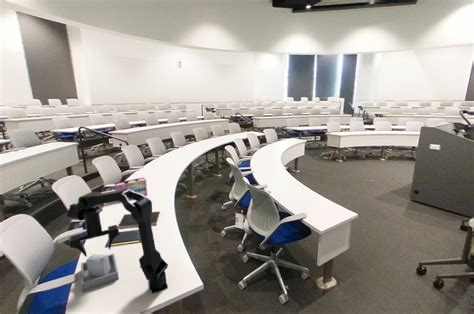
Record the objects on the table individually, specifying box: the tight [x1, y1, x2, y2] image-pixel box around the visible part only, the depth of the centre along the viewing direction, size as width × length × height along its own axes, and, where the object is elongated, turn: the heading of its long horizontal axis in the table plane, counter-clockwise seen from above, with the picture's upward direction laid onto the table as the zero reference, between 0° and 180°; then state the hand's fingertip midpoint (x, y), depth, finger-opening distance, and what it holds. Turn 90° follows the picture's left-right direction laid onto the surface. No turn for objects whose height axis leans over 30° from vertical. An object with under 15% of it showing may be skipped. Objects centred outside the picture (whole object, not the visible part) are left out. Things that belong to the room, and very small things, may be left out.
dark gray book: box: [104, 229, 142, 249], centre depth 143 cm, size 20×2×15 cm
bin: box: [80, 253, 119, 292], centre depth 113 cm, size 14×16×4 cm
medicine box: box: [85, 254, 111, 276], centre depth 112 cm, size 8×4×9 cm, turn 87°
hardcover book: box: [118, 211, 160, 229], centre depth 163 cm, size 16×23×2 cm
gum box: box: [114, 177, 148, 203], centre depth 200 cm, size 24×8×14 cm, turn 126°
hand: (98, 252), depth 110 cm, fingers open, 9 cm apart
